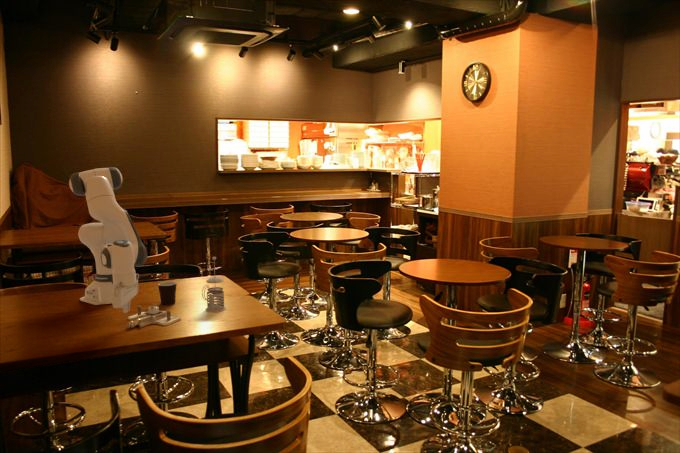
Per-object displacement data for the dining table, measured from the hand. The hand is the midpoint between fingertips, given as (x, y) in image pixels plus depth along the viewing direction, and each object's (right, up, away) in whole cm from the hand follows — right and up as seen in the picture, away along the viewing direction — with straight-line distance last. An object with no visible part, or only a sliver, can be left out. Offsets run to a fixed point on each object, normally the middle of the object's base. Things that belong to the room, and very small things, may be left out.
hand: (126, 311), depth 232 cm
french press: (+30, -4, +28) cm, 42 cm away
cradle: (+6, -6, +10) cm, 13 cm away
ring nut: (+7, -4, +12) cm, 15 cm away
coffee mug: (+6, -2, +40) cm, 40 cm away
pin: (+4, -7, +5) cm, 9 cm away
